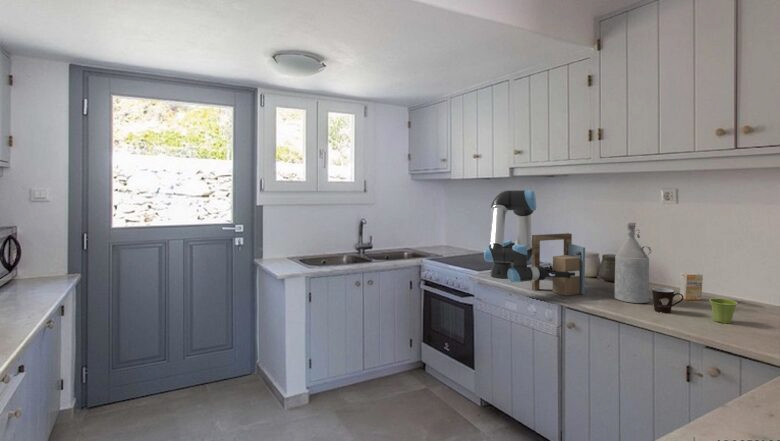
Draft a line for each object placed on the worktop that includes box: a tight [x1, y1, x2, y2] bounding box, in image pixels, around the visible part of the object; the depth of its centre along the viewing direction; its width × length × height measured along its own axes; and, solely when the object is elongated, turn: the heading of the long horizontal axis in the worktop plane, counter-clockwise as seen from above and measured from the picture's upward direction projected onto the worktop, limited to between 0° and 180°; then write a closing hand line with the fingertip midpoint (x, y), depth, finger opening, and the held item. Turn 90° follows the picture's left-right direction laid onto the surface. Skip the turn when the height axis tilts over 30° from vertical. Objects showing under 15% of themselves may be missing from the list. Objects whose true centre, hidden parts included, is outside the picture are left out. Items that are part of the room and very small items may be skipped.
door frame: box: [531, 232, 573, 291], centre depth 244 cm, size 3×24×31 cm, turn 104°
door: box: [568, 243, 586, 295], centre depth 236 cm, size 17×3×25 cm, turn 3°
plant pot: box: [708, 298, 738, 324], centre depth 181 cm, size 9×9×9 cm
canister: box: [614, 221, 652, 304], centre depth 215 cm, size 13×17×40 cm
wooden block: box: [552, 254, 581, 297], centre depth 233 cm, size 10×10×20 cm
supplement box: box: [679, 272, 703, 301], centre depth 216 cm, size 8×5×13 cm, turn 89°
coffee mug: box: [651, 287, 684, 314], centre depth 196 cm, size 12×9×10 cm
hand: (570, 270), depth 234 cm, fingers open, 13 cm apart
